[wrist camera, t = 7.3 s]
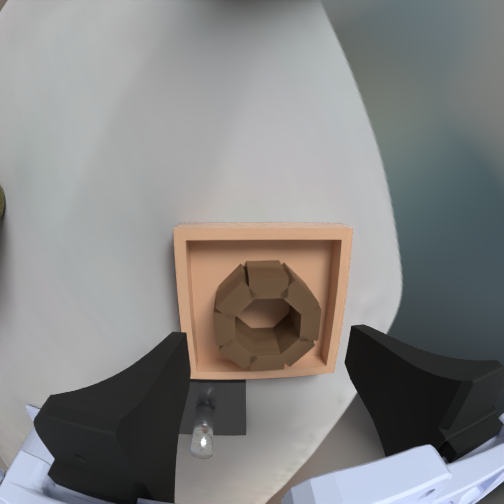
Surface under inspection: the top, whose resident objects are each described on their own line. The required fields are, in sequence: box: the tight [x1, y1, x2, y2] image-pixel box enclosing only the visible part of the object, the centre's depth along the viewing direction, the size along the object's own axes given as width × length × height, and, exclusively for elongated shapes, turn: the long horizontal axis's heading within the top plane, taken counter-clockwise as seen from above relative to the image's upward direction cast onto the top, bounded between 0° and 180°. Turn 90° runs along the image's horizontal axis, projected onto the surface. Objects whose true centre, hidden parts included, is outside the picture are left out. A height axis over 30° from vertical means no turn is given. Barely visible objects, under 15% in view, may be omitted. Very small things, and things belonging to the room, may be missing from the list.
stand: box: [179, 379, 246, 459], centre depth 16 cm, size 6×6×5 cm
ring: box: [213, 260, 321, 371], centre depth 15 cm, size 5×5×3 cm
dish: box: [173, 223, 353, 379], centre depth 16 cm, size 9×9×2 cm
